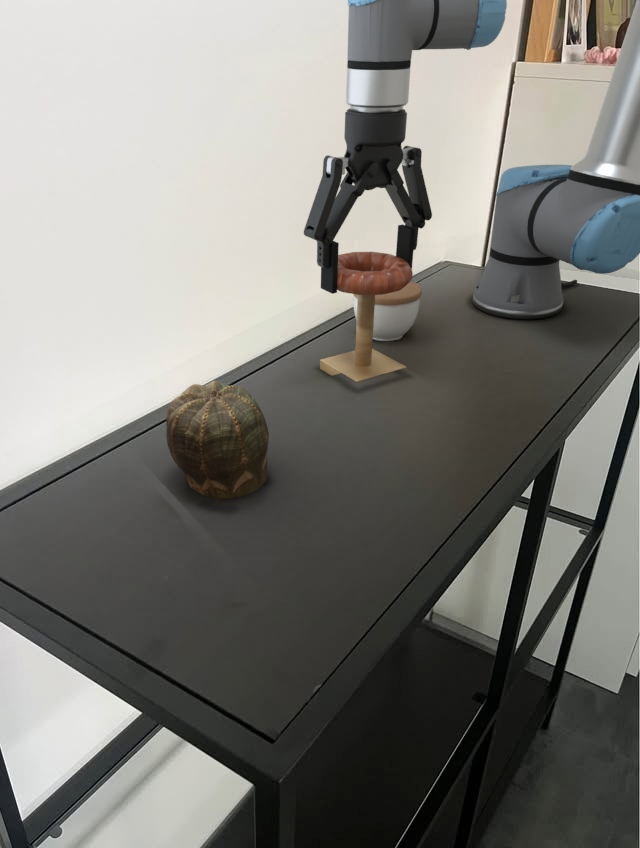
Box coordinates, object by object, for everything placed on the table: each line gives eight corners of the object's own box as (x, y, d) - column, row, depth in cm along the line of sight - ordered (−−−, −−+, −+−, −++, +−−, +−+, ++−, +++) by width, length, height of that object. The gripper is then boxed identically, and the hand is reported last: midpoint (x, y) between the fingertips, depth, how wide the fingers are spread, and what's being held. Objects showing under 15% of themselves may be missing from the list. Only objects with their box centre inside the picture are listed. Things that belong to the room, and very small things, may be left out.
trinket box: (415, 349, 119) (421, 290, 114) (347, 344, 121) (349, 286, 116) (419, 324, 128) (424, 268, 123) (355, 320, 130) (357, 265, 125)
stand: (368, 355, 117) (373, 267, 110) (406, 376, 111) (414, 284, 103) (319, 368, 113) (321, 278, 106) (356, 391, 107) (360, 297, 100)
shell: (179, 461, 91) (170, 368, 85) (271, 462, 91) (269, 369, 84) (164, 514, 82) (153, 414, 75) (267, 515, 82) (265, 415, 75)
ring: (374, 265, 112) (375, 244, 110) (429, 287, 103) (431, 265, 102) (305, 279, 107) (305, 257, 105) (357, 304, 98) (358, 281, 96)
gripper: (431, 97, 101) (417, 261, 113) (275, 111, 90) (277, 290, 102) (471, 103, 96) (452, 274, 107) (310, 119, 85) (308, 306, 97)
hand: (366, 282), depth 105 cm, fingers closed on ring, 12 cm apart
